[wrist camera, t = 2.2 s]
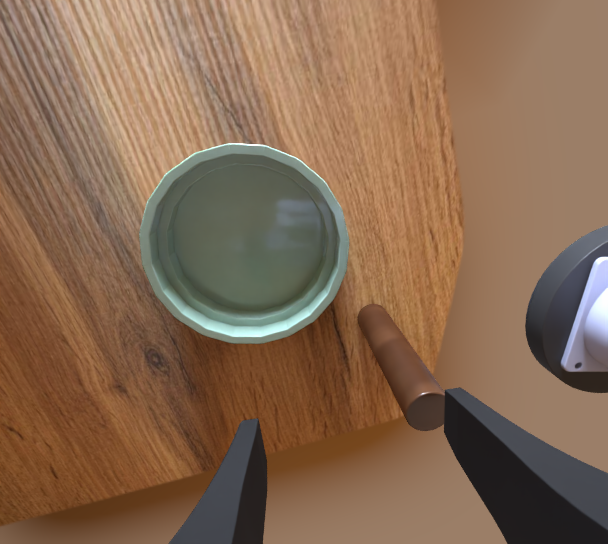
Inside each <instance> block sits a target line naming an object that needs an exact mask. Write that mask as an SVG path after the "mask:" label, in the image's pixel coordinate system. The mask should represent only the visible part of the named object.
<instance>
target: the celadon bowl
mask: <svg viewBox="0 0 608 544" xmlns="http://www.w3.org/2000/svg"><path fill="white" fill-rule="evenodd" d="M139 238H140V248H141V258H142V266H143V269H144V271H145V273H146V276H147V278H148V280H149V282H150V284H151V287H152V289H153V291H154V293H155V295H156V297H157V298H158V299H159V300H160V301H161V302H162V303H163V305H164V306H165V307H166V308H167V309H168V310H169V311H170V312H171V314H172V315H173V316H174V317H175V318H177V320H179V321H180V322H182V323H184V324H185V325H187V326H188V327H190V328H192V329H193V330H195V331H197V332H198V333H200V334H201V335H204V336H207V337H210V338H214V339H217V340H221V341H224V342H228V343H232V344H263V343H267V342H271V341H274V340H278V339H281V338H285V337H288V336H290V335H293V334H294V333H296V332H298V331H299V330H301V329H302V328H304V327H306V326H307V325H309V324H310V323H312V322H314V321H315V320H316V319H317V318H318V317H319V316H320V315H321V313H322V312H323V311H324V310H325V309H326V308H327V307H328V305H329V304H330V303H331V302H332V301H333V300H334V298H335V297H336V294H337V292H338V290H339V287H340V285H341V283H342V281H343V278H344V276H345V274H346V270H347V262H348V251H349V236H348V232H347V228H346V223H345V219H344V215H343V211H342V208H341V207H340V205H339V203H338V202H337V200H336V198H335V197H334V195H333V193H332V192H331V190H330V188H329V187H328V185H327V184H326V182H325V181H324V180H323V179H322V178H321V177H320V176H318V175H317V174H316V173H315V172H314V171H313V170H311V169H310V168H309V167H308V166H307V165H305V164H304V163H303V162H302V161H301V160H300V159H298V158H296V157H293V156H291V155H288V154H286V153H283V152H281V151H278V150H276V149H273V148H271V147H268V146H265V145H253V144H236V143H230V144H224V145H221V146H217V147H214V148H210V149H207V150H203V151H200V152H196V153H195V154H192V155H191V156H190V157H188V158H187V159H185V160H184V161H183V162H181V163H180V164H178V165H177V166H176V167H174V168H173V169H171V170H170V171H169V172H167V174H165V176H164V177H163V179H162V180H161V182H160V183H159V185H158V186H157V188H156V189H155V190H154V192H153V193H152V195H151V196H150V198H149V199H148V202H147V204H146V208H145V212H144V216H143V220H142V224H141V228H140V232H139Z"/></svg>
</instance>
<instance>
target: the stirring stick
mask: <svg viewBox="0 0 608 544" xmlns="http://www.w3.org/2000/svg"><path fill="white" fill-rule="evenodd" d="M358 324H359V326H360V328H361V330H362V332H363V334H364V336H365V338H366V340H367V342H368V344H369V346H370V348H371V350H372V352H373V354H374V356H375V358H376V360H377V362H378V364H379V366H380V368H381V370H382V372H383V374H384V376H385V378H386V380H387V382H388V384H389V386H390V388H391V390H392V392H393V394H394V396H395V398H396V400H397V402H398V404H399V406H400V408H401V410H402V412H403V414H404V416H405V418H406V420H407V422H408V424H409V425H410V426H412V427H413V428H415V429H417V430H420V431H429V430H434V429H436V428H438V427H440V426H442V425H443V424H444V408H445V392H444V391H443V389H442V388H441V387H440V385H439V384H438V383H437V381H436V380H435V378H434V377H433V375H432V374H431V373H430V371H429V370H428V369H427V367H426V366H425V364H424V363H423V362H422V360H421V359H420V357H419V356H418V355H417V353H416V352H415V350H414V349H413V348H412V346H411V345H410V343H409V342H408V341H407V339H406V338H405V336H404V335H403V334H402V332H401V331H400V329H399V328H398V327H397V325H396V324H395V322H394V321H393V320H392V318H391V317H390V315H389V314H388V313H387V311H386V310H385V309H384V308H383V307H382V306H380V305H378V304H370V305H367V306H365V307H364V308H363V309H362V310H361V311H360V312H359V315H358Z"/></svg>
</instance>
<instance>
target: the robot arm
mask: <svg viewBox="0 0 608 544" xmlns="http://www.w3.org/2000/svg"><path fill="white" fill-rule="evenodd" d="M561 367H562V368H563V369H564V370H566V371H568V372H608V257H600V258H598V259H597V260H596V261H595V262H594V264H593V266H592V269H591V272H590V275H589V278H588V281H587V284H586V287H585V291H584V294H583V297H582V300H581V303H580V306H579V309H578V312H577V315H576V318H575V321H574V324H573V327H572V330H571V333H570V336H569V339H568V342H567V345H566V348H565V351H564V355H563V358H562V361H561ZM444 433H445V435H446V437H447V440H448V442H449V444H450V446H451V448H452V450H453V452H454V454H455V456H456V458H457V460H458V462H459V463H460V465H461V467H462V468H463V470H464V472H465V473H466V475H467V477H468V478H469V480H470V481H471V483H472V485H473V486H474V488H475V489H476V491H477V492H478V494H479V496H480V497H481V499H482V501H483V502H484V504H485V505H486V507H487V509H488V510H489V512H490V513H491V515H492V516H493V518H494V520H495V522H496V523H497V525H498V527H499V529H500V530H501V532H502V534H503V536H504V538H505V540H506V542H507V544H608V473H606V472H604V471H601V470H599V469H597V468H595V467H593V466H590V465H588V464H586V463H584V462H582V461H580V460H578V459H576V458H574V457H571V456H570V455H568V454H566V453H564V452H562V451H560V450H558V449H556V448H554V447H553V446H551V445H549V444H547V443H545V442H544V441H542V440H540V439H538V438H537V437H535V436H533V435H532V434H530V433H528V432H526V431H525V430H523V429H522V428H520V427H518V426H517V425H515V424H514V423H512V422H511V421H509V420H508V419H506V418H505V417H503V416H501V415H500V414H498V413H497V412H495V411H494V410H493V409H491V408H490V407H488V406H487V405H485V404H484V403H482V402H481V401H479V400H478V399H477V398H475V397H474V396H472V395H470V394H469V393H468V392H466V391H465V390H463V389H462V388H454V389H447V390H445V408H444ZM266 498H267V459H266V454H265V449H264V444H263V439H262V434H261V429H260V424H259V419H258V418H257V419H250V420H244V421H242V422H241V423H240V425H239V427H238V430H237V432H236V434H235V437H234V439H233V441H232V443H231V445H230V447H229V450H228V452H227V454H226V456H225V457H224V459H223V461H222V463H221V465H220V467H219V469H218V471H217V473H216V475H215V476H214V478H213V479H212V481H211V483H210V485H209V487H208V488H207V490H206V491H205V493H204V495H203V496H202V498H201V499H200V501H199V503H198V504H197V505H196V507H195V509H194V510H193V511H192V513H191V514H190V516H189V517H188V519H187V520H186V521H185V523H184V524H183V525H182V527H181V528H180V529H179V531H178V532H177V533H176V535H175V536H174V537H173V539H172V540H171V541H170V542H169V544H263V533H264V521H265V510H266Z"/></svg>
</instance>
